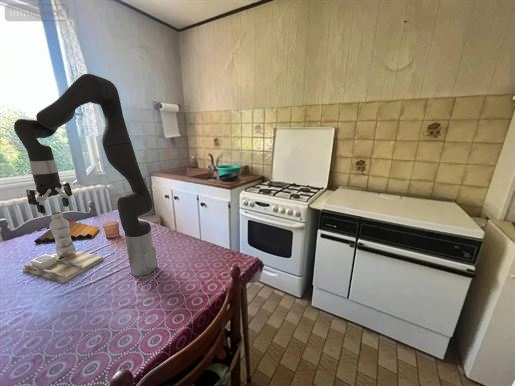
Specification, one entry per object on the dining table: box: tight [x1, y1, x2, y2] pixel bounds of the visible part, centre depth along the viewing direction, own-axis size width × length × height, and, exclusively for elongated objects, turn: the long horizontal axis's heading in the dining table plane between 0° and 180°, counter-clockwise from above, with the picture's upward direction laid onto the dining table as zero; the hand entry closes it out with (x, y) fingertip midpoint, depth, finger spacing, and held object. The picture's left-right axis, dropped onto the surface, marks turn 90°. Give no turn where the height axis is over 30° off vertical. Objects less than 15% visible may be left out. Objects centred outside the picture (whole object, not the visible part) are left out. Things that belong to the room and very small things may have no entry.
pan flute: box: [34, 220, 100, 245], centre depth 125 cm, size 25×3×25 cm
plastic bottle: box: [49, 211, 76, 257], centre depth 96 cm, size 6×7×20 cm
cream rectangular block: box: [30, 253, 57, 269], centre depth 91 cm, size 6×5×3 cm
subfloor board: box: [21, 250, 104, 284], centre depth 94 cm, size 23×16×3 cm
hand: (54, 209), depth 92 cm, fingers open, 8 cm apart
